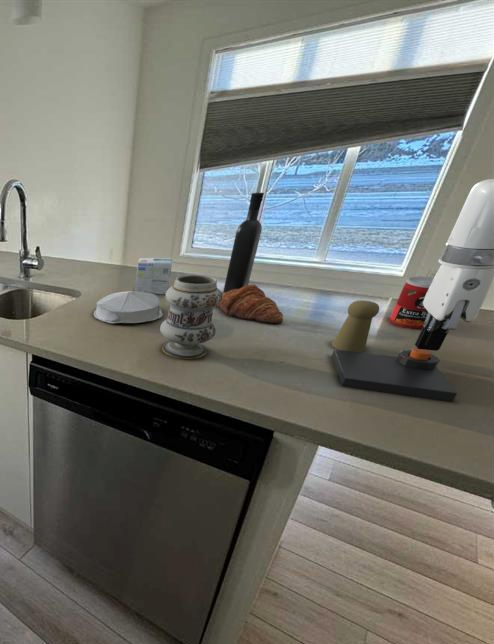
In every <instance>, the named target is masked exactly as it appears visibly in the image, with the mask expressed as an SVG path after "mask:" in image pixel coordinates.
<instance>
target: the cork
mask: <svg viewBox="0 0 494 644" xmlns="http://www.w3.org/2000/svg"><path fill="white" fill-rule="evenodd" d="M379 312H380V306H379V304H378V303H377V302H375V301H371V300H362V299H360V300H355V301H352V302H351V303H349V305H348V307H347V314H348V315H347V317H346V319H345V320H344V322H343V323H342V325H341V327H340V328H339V330H338V332H337V334H336V336H335V337H334V339H333V341H332V342H331V346H332V347H333V348H335V350H344V351H352V352H361V353H363V352H364V351H365V350H366V346H367V343H368V337H369V334H370V329H371V326H372V321H373V318H376V316H377V315H378V314H379Z"/></svg>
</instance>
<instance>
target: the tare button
mask: <svg viewBox="0 0 494 644" xmlns="http://www.w3.org/2000/svg"><path fill="white" fill-rule="evenodd" d="M411 350H412V351H411V353H410V355H409V356H410V357H412V358H415V359H419V360H428V359H429V357H430V355H431V354H432V350H423V349H418V348H417V347H415V348H412V349H411Z"/></svg>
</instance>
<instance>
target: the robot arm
mask: <svg viewBox="0 0 494 644" xmlns="http://www.w3.org/2000/svg"><path fill="white" fill-rule="evenodd" d="M437 262H438V264H440V266H439V268H438V270H437V271H436V274H435V275H434V276H433V277H434V279H433V281H432V283H431V285H430V287H429V289H428V291H427V293H426V296H425V298H424V301H423V306H424V307H425V308H426V310H427V311H428V315H427V317H426V320H425V322H424V327H426V328H421V330H420V332H419V335H418V337H417V339H416V341H415V342H414V346H415V348H418V349H423V350H429V351H435V352H438V351H439V350H440V349H441V347H442V345H443V344H444V342H445V340H446V338H447V335H448V334H449V333H450V331H455V330H456V329H457V327H458V324H459V322H460V319H461V320H462V321H463V322H465V323H467V324H468V323H469V324H470V323H473V322H474V321H475V320H476V319H477V316H478V314H479V312H480V310H481V308H482V306H483V304H484V302H485V300H486V298H487V295H488V293H489V291H490V288H491V285H492V283H493V280H494V178H488V179H485V180H481V181H479V182H477V183H475V184H474V186H473V187H472V188H471V190H470V191H469V193H468V195H467V197H466V199H465V202H464V204H463V206H462V209H461V211H460V213H459V215H458V217H457V220H456V222H455V224H454V226H453V227H452V230H451V232H450V234H449V237H448V239H447V242H446V243H445V245H444V248H443V250H442V252H441V254H440V256H439V259H438V260H437Z"/></svg>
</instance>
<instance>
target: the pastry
mask: <svg viewBox="0 0 494 644" xmlns="http://www.w3.org/2000/svg"><path fill="white" fill-rule="evenodd" d="M221 293H222V300H221V302H220V303H219V304H218V305H216V306H215V307H216V308H218V309H220V310H221V311H222V312H223V313H225V315H226V316H230V317H235V318H238V319H242V320H248V321H256V322H259V323H264V324H271V325H272V324H273V325H275V324H282V323H283V321H284V313H282V311H281V310H280V309H279V307H278V305H277V303H276V302H275V301H274V300H273V299H272V298H270V297H268V296H266V293H265V292H264V291H263V289H261V288H260V287H258V286H257V285H256V284H248V286H244V287H242V288H240V289H233V290H230V291H228V292H226V293H224V292H223V291H221Z"/></svg>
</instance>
